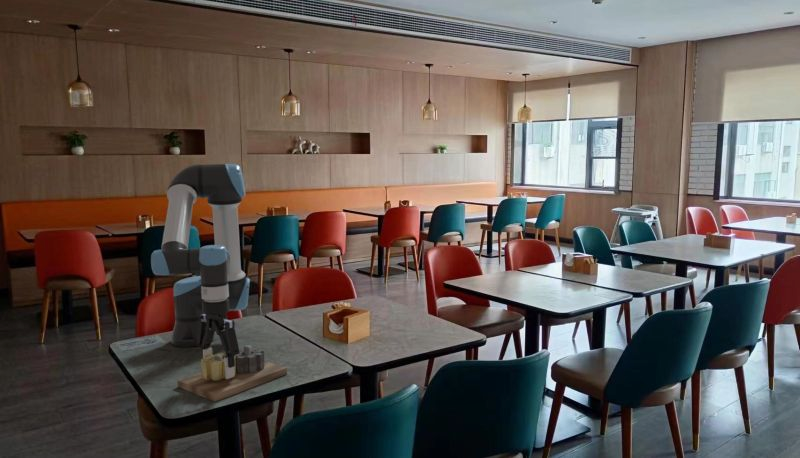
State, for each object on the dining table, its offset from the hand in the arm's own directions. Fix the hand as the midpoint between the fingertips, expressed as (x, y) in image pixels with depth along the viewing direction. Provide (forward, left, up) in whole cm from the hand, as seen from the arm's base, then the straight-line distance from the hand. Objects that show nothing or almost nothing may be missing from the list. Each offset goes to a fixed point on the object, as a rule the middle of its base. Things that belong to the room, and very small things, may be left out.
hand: (219, 373), depth 176 cm
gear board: (0, +5, -4) cm, 6 cm away
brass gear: (0, 0, 0) cm, 0 cm away
